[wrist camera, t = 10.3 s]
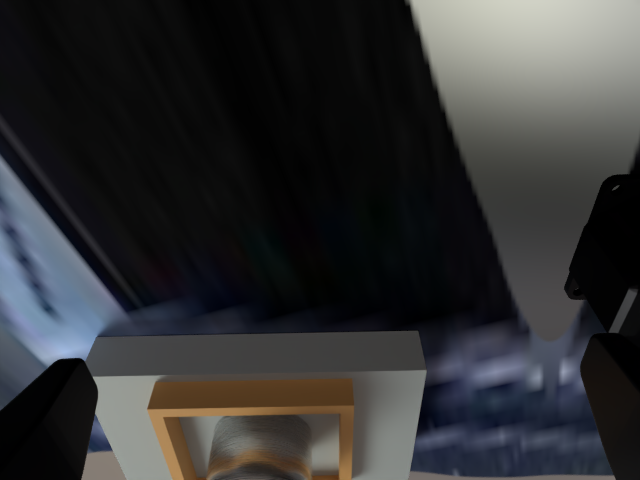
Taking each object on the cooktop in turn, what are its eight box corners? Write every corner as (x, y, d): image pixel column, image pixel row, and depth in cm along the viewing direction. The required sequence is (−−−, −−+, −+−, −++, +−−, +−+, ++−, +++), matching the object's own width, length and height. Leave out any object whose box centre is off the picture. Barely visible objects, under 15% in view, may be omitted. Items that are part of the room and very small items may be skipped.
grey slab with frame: (418, 330, 26) (432, 397, 23) (401, 444, 32) (411, 509, 29) (96, 336, 26) (66, 404, 23) (142, 449, 32) (123, 514, 29)
